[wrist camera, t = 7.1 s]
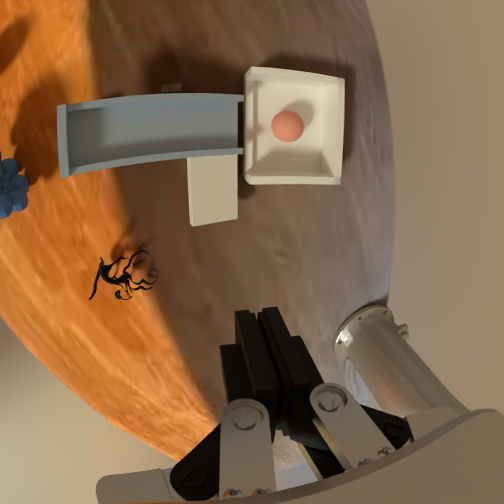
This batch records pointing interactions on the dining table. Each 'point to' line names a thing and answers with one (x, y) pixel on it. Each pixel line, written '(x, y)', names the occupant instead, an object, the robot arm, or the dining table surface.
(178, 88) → the pivot stand
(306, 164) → the tray
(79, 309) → the dining table surface
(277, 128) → the ball
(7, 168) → the grapes
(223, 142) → the lever
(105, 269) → the creature
